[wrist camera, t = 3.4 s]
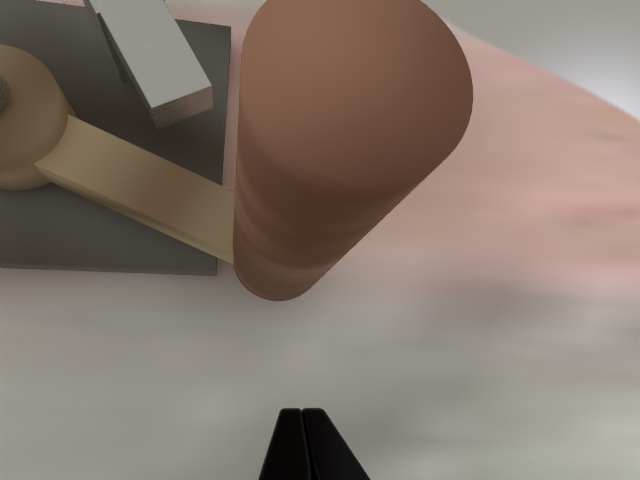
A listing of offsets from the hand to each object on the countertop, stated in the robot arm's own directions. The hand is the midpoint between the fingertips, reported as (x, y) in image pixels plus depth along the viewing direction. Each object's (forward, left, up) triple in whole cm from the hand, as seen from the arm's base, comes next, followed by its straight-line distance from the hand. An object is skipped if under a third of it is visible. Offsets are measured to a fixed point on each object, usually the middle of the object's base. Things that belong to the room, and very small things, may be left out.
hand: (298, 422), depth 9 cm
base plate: (0, +11, -7) cm, 13 cm away
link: (0, +8, -5) cm, 9 cm away
